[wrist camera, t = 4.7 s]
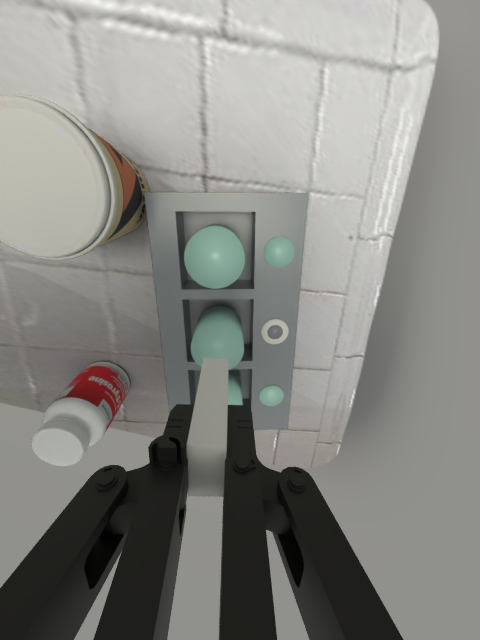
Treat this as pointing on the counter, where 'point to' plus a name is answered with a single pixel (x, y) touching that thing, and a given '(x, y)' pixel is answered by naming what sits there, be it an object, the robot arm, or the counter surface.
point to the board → (232, 291)
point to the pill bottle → (81, 414)
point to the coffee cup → (62, 182)
